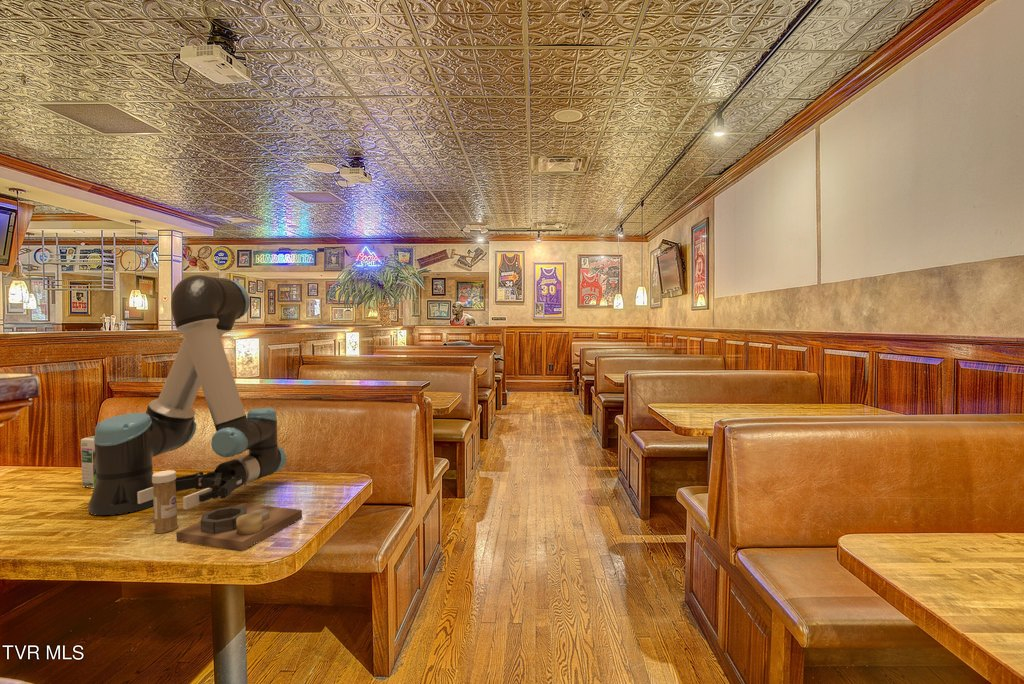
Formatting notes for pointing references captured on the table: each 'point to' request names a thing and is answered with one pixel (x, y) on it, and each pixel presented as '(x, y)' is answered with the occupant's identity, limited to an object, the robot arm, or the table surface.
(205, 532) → the carrier board
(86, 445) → the syrup box
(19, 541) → the table surface
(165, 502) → the sprinkles bottle
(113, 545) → the table surface
